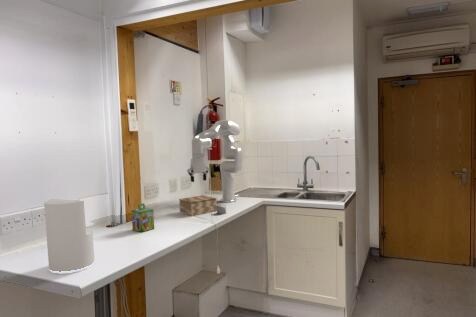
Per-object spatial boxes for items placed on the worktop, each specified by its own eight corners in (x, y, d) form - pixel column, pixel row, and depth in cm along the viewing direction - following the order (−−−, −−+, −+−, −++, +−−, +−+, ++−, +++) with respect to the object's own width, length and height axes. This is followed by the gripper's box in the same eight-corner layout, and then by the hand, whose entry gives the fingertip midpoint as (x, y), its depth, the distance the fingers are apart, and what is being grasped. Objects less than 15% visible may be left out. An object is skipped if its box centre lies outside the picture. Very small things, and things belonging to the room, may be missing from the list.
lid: (203, 196, 253) (203, 195, 253) (216, 199, 241) (216, 198, 241) (179, 200, 240) (179, 199, 240) (191, 204, 228) (191, 202, 228)
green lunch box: (141, 232, 194) (140, 206, 192) (131, 230, 199) (130, 204, 198) (155, 228, 201) (153, 203, 200) (145, 226, 206) (143, 202, 205)
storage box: (203, 207, 254) (203, 196, 253) (216, 211, 241) (216, 199, 241) (179, 212, 241) (179, 201, 241) (192, 216, 229) (191, 204, 228)
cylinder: (71, 276, 135) (66, 205, 133) (39, 271, 141) (33, 203, 139) (103, 260, 151) (99, 197, 149) (73, 257, 157) (69, 195, 155)
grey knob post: (222, 211, 238) (222, 204, 238) (227, 213, 233) (227, 205, 233) (215, 213, 234) (214, 206, 234) (220, 214, 230) (220, 207, 229)
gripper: (205, 155, 247) (206, 179, 249) (183, 157, 237) (185, 182, 238) (211, 155, 242) (212, 180, 243) (189, 157, 231) (190, 182, 232)
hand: (198, 181), depth 240 cm, fingers open, 9 cm apart
